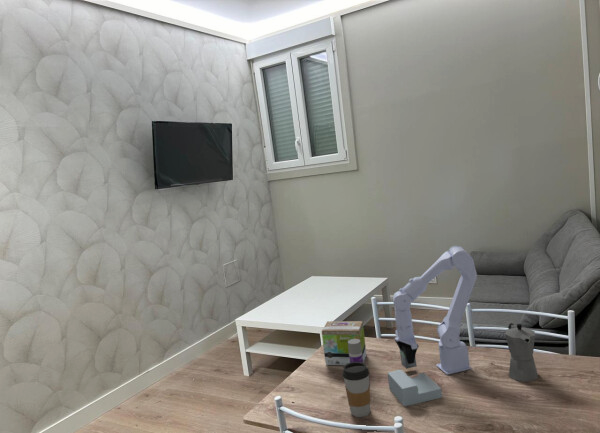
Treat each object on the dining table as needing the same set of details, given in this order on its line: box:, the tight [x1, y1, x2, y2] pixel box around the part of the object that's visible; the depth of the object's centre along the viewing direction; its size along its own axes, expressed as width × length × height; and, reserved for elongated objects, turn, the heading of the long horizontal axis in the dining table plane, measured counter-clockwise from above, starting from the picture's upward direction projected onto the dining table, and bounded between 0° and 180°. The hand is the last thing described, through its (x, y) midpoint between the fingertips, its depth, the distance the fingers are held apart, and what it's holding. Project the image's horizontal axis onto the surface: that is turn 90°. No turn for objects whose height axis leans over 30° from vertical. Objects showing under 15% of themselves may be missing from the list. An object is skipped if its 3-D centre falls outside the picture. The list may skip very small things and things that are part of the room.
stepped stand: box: [387, 369, 443, 407], centre depth 151 cm, size 13×12×6 cm
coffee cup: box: [342, 362, 372, 418], centre depth 144 cm, size 8×8×15 cm
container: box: [348, 339, 363, 363], centre depth 164 cm, size 5×5×15 cm
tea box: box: [321, 320, 367, 366], centre depth 182 cm, size 15×10×15 cm
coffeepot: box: [504, 322, 539, 383], centre depth 154 cm, size 15×9×18 cm, turn 176°
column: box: [399, 348, 417, 370], centre depth 167 cm, size 4×4×6 cm
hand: (408, 360), depth 167 cm, fingers closed on column, 4 cm apart
